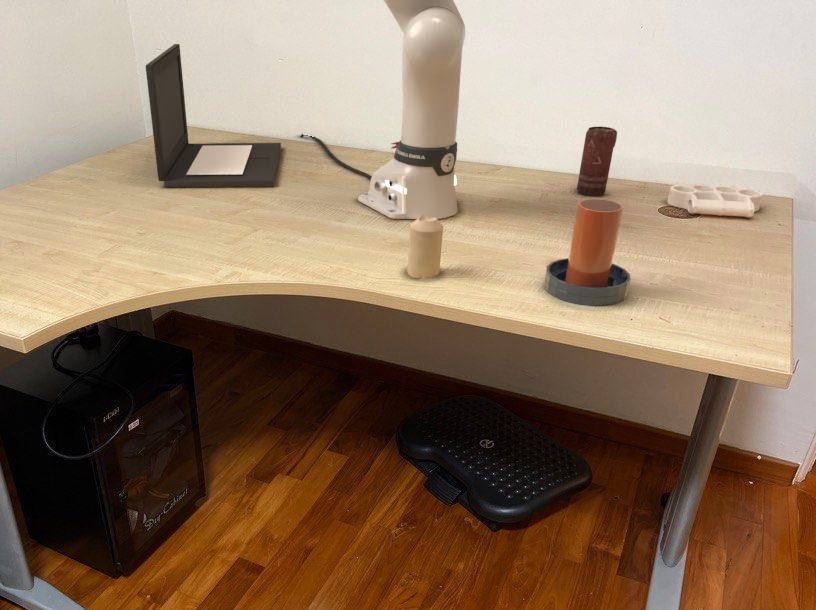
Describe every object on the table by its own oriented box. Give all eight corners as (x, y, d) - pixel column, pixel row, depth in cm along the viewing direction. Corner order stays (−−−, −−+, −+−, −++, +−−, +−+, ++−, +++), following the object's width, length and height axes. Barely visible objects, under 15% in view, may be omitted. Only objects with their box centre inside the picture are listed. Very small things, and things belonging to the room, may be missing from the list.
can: (607, 197, 169) (620, 132, 161) (577, 195, 170) (588, 131, 163) (604, 189, 174) (616, 126, 167) (575, 188, 175) (585, 125, 168)
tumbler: (555, 287, 125) (569, 204, 118) (579, 277, 128) (594, 196, 121) (590, 300, 120) (606, 214, 113) (614, 290, 124) (631, 205, 117)
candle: (404, 268, 134) (407, 213, 129) (435, 267, 134) (439, 211, 129) (410, 280, 129) (414, 223, 124) (442, 279, 130) (447, 222, 125)
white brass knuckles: (673, 215, 157) (663, 195, 169) (769, 222, 153) (751, 200, 165) (677, 200, 155) (666, 180, 168) (774, 205, 152) (756, 185, 164)
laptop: (273, 187, 178) (268, 63, 164) (158, 187, 178) (144, 65, 165) (281, 148, 210) (277, 42, 196) (183, 149, 210) (173, 43, 197)
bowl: (527, 289, 126) (530, 270, 124) (574, 270, 132) (578, 252, 131) (595, 315, 117) (598, 295, 115) (642, 294, 124) (646, 274, 122)
